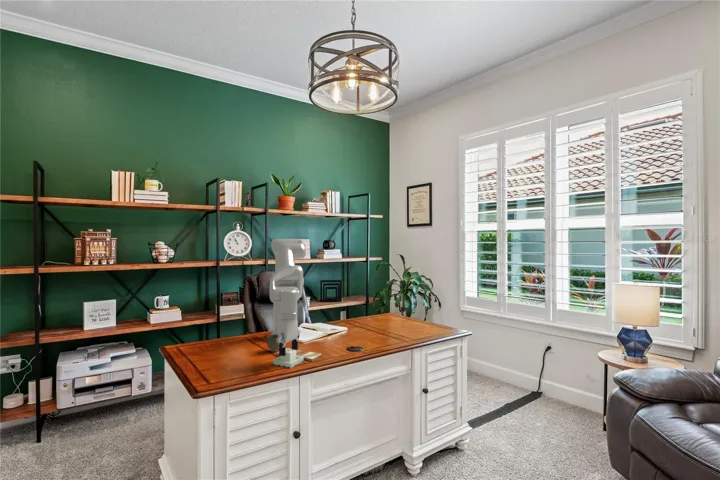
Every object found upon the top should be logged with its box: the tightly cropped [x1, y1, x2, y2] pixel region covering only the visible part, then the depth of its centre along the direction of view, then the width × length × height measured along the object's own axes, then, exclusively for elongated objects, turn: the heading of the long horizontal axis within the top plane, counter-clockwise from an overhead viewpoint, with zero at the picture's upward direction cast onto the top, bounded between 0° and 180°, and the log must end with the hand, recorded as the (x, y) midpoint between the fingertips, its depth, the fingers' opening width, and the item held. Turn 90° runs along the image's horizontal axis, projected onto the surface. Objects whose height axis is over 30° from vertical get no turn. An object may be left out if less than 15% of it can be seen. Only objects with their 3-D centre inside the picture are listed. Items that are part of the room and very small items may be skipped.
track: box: [275, 347, 323, 363], centre depth 183 cm, size 21×9×1 cm, turn 65°
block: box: [280, 348, 296, 363], centre depth 173 cm, size 5×5×5 cm
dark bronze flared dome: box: [266, 334, 279, 353], centre depth 190 cm, size 8×7×8 cm
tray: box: [272, 356, 305, 369], centre depth 172 cm, size 10×10×2 cm
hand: (288, 352), depth 172 cm, fingers open, 9 cm apart
